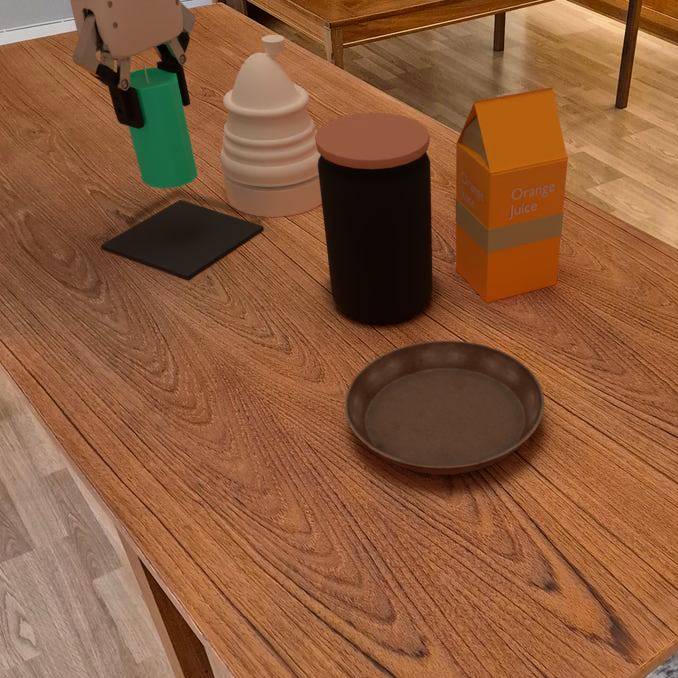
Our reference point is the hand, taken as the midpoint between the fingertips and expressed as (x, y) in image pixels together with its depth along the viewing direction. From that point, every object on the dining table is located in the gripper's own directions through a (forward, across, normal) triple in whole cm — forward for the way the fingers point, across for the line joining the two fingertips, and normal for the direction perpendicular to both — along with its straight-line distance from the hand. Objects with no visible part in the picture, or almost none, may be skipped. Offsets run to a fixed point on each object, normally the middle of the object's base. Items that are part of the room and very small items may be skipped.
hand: (154, 112), depth 93 cm
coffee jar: (+15, -1, +27) cm, 31 cm away
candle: (+7, 0, 0) cm, 7 cm away
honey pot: (+15, -15, +2) cm, 21 cm away
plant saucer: (+15, +13, +43) cm, 47 cm away
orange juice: (+15, -12, +36) cm, 41 cm away
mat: (+15, 0, 0) cm, 15 cm away
